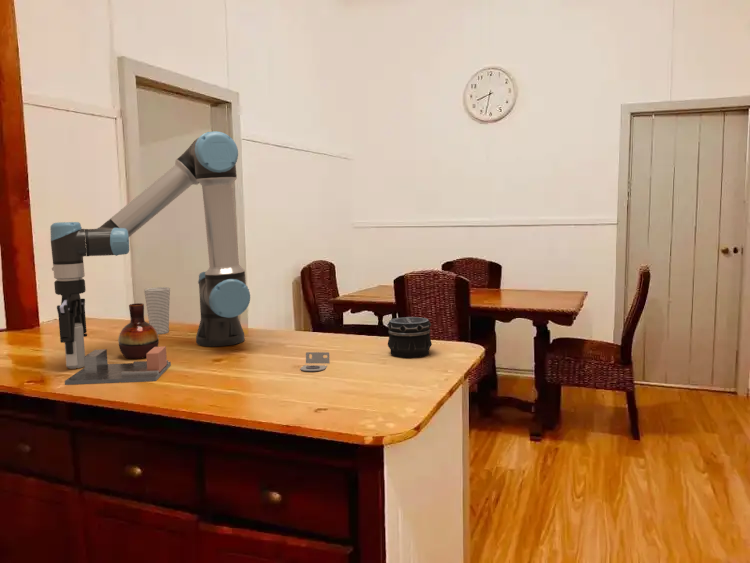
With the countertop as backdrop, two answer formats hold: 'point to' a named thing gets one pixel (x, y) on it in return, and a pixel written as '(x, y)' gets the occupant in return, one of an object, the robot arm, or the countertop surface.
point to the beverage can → (79, 345)
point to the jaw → (156, 358)
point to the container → (409, 337)
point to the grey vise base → (112, 371)
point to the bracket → (315, 361)
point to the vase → (137, 335)
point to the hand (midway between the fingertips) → (76, 362)
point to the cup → (158, 308)
